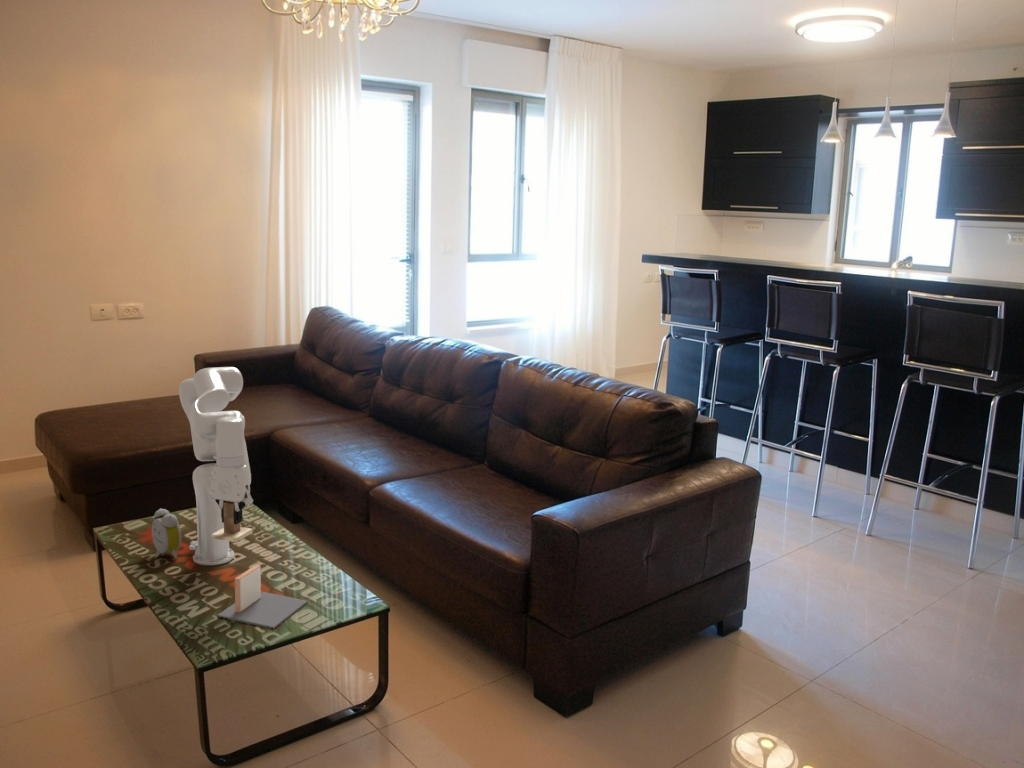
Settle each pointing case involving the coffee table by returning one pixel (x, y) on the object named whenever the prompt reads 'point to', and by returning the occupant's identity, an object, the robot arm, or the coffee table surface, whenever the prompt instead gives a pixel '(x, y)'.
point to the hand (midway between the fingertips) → (232, 521)
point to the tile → (247, 588)
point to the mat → (266, 610)
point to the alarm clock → (166, 533)
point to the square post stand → (231, 526)
